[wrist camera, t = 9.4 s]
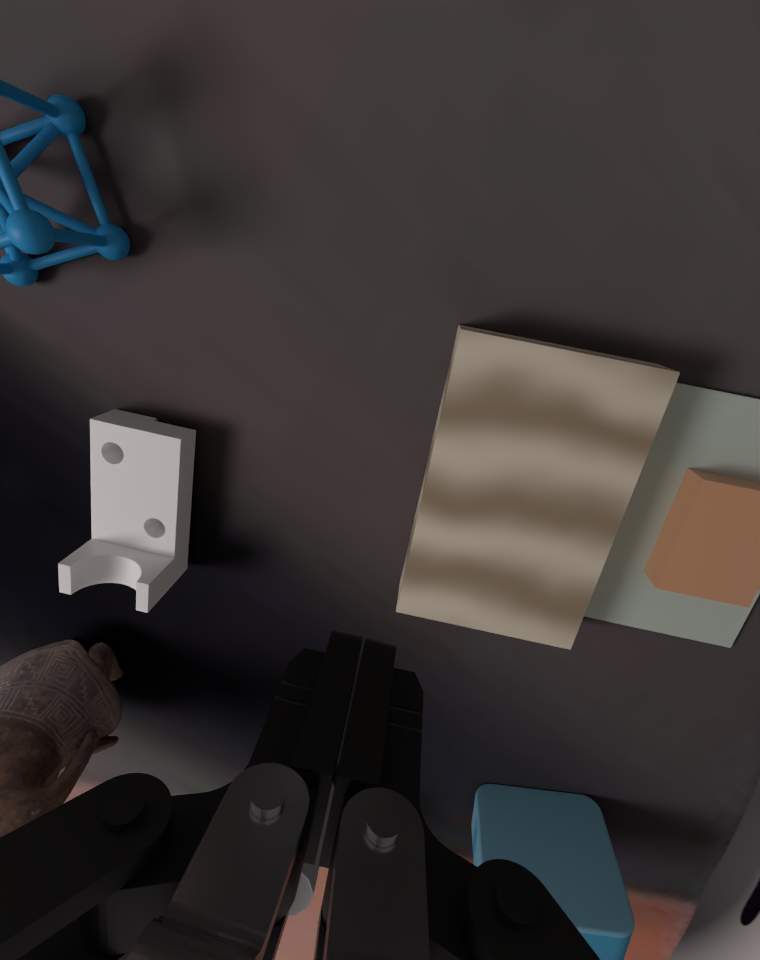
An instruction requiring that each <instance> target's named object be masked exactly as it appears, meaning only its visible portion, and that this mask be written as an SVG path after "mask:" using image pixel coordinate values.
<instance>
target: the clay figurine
mask: <svg viewBox="0 0 760 960" xmlns="http://www.w3.org/2000/svg"><path fill="white" fill-rule="evenodd" d="M122 675H123V671H122V670H121V668H120V666H119V664H118V661H117V659H116V656H115V655H114V652H113V649H112V648H111V647H109V646H108V645H106V644H104V643H102V642H100V643H97V644H95V645H93V646H92V647H91V648H90V650H89V653H87V652H86V651H85V649H84V647H83V646H82V645H81V644H80V643H79V642H78V641H74V640H65V641H62V642H56V643H53V644H49V645H46V646H43V647H40V648H37V649H34V650H31V651H29V652H26V653H24V654H22V655H19V656H17V657H16V658H14V659H12V660H10V661H8V662H7V663H5V664H4V665H2V666H1V667H0V837H2V836H4V835H6V834H8V833H10V832H12V831H14V830H15V829H17V828H19V827H21V826H23V825H25V824H27V823H29V822H30V821H32V820H34V819H36V818H38V817H40V816H42V815H43V814H45V813H47V812H49V811H51V810H53V809H55V808H57V807H58V806H60V805H62V804H63V803H64V802H65V800H66V799H67V797H68V796H69V794H70V793H71V791H72V789H73V787H74V786H75V784H76V782H77V780H78V778H79V777H80V776H81V773H82V772H83V770H84V769H85V767H86V765H87V764H88V762H89V760H90V757H91V755H92V754H94V753H97V752H100V751H103V750H105V749H108V748H110V747H112V746H113V745H115V744H116V743H117V742H118V737H117V736H107V735H108V734H111V733H112V732H113V731H114V730H115V729H116V727H117V726H118V724H119V722H120V720H121V717H122V701H121V698H120V695H119V693H118V692H117V690H116V688H115V686H114V685H113V683H112V682H111V681H113V680H116V679H118V678H120V677H121V676H122ZM65 766H66V768H65V770H64V771H63V773H62V774H61V775H60V776H59V777H58V775H59V773H60V770H61V769H63V768H64V767H65ZM57 777H58V778H57Z"/></svg>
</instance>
